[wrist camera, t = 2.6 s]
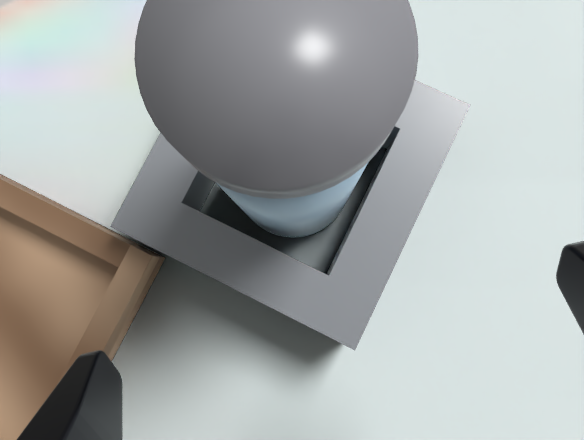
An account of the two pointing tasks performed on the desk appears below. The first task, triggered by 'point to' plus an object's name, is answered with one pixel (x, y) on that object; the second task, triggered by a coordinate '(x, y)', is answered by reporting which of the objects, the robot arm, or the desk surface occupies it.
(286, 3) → the ball
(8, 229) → the tray
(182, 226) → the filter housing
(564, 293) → the robot arm
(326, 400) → the desk surface
